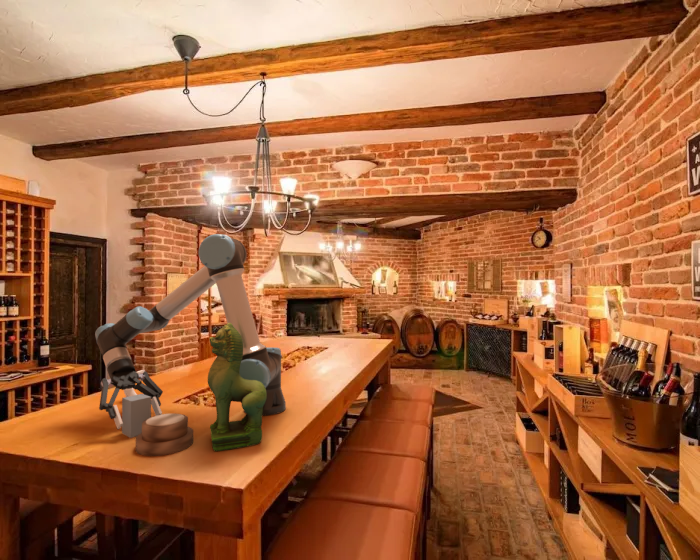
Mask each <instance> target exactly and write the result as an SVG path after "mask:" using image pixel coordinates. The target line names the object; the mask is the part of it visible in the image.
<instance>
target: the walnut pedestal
mask: <svg viewBox="0 0 700 560" xmlns="http://www.w3.org/2000/svg"><path fill="white" fill-rule="evenodd" d="M193 443H194V429H193V428H192V427H191V426H189V416H188V415H186V414H181V413H162V415H157V416H156V415H154V416H151V418H148V419H146V420H144V421H143V422H142V433H141V434H139V435H138V436H136V437H135V452H136V453H137V454H138V455H141V456H145V457H146V456H147V457H159V456H166V455H173V454H175V453H178V452H181V451H184V450H185V449H188V448H189V447H190V446H192V444H193Z"/></svg>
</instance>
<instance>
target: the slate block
mask: <svg viewBox="0 0 700 560" xmlns="http://www.w3.org/2000/svg"><path fill="white" fill-rule="evenodd" d="M151 400H152V399H151V397H150V396H147V395H144V394H143V393H140V394H137V395H134V396H129V397H126V396H125V397H122V398H121V401H122V402H121V405H122V408H121V419H122V422H123V424H122V426H121V434H122V435H124V436H125V437H128V438H129V439H133V438H136V437H137V436H138V435H139V434H141V433H142V422H143V421H144V420H146V419H148V418H151V417H152V405H151Z"/></svg>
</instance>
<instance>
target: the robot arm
mask: <svg viewBox="0 0 700 560" xmlns="http://www.w3.org/2000/svg"><path fill="white" fill-rule="evenodd" d="M198 257H199V261H200V262H201V264H203V267H201V268H200V269H198V271H196V272H195V273H194V274H193V275H192V276H190V277H188V278H187V279H186V280H185V281H184V282H182V283H181V284H180V285H178V286H177V288H175V289H174V290H172V292H170V293H169V294H167V296H165V297H163V298H162V299H161V300H160V301H158V303H156V304H155V305H154V306H153V307H152V308H150V309H148V308H146V307H143V306H140V305H138V306H136V307H134V308H133V309H130V311H128V312H127V313H126V314H125V315H124V316H123V317H121V318H120V319H119V320H118V321H117V322H116V323H110V322H109V323H105V324H104V325H101V326H99V327H97V329H96V330H95V334H94V335H95V340H96V344H97V347H98V348H99V351H100V353H101V356H102V359H103V363H104V365H105V368H106V370H107V374H108V376H109V378H108V379H107V378H106V377H103V378H102V380H101V382H100V383H99V385H100V388H101V391H100V399H99V407H98V410H99V411H103V410H105V412H107V413H108V416H109V418H110V419H111V420H114V423H115V426H116V429H117V430H120V429H122V424H123V422H122V415H121V413H120V410H119V408H118V405H117V404H115V402H116V399H117V397H118V394H119V392H120V390H121V391H124V390H125V389H130V388H133V389H134V391H135V390H137V391H138V392H140V394H144V395H147V396H150V397H151V408H152V410H153V413H154V416H157V415H162V414H163V411H162V409H161V406H162V403H161V400H160V398H161V396H162V394H163V392H164V391H163V390H162V389H161V388H160V387H159V386H158V385H157V383H155V381H154V380H153V379H152V378H151V377H150V375H149V373H148V372H147V371H145V372H143V373H140V374H138V373H136V372H137V371H136V368H135V364H134V362H133V360H132V357H131V355H130V352H129V350H128V347H127V343H130V341H132V340H133V339H134V338H135V337H136V336H138V335H139V334H143V333H148V332H149V333H150V332H153V331H154V332H155V331H160V330H162V329H164V328H166V327H167V326H168V325H169V321H171V320H172V319H174V317H175V316H178V314H179V313H180V312H181V311H183V310H184V309H185V308H187V307H188V306H189V305H190V304H192V303H193V302H194V301H196V300H197V299H198V298H199V297H200V296H202V295H204V293H205V292H207V291H208V290H210V289H211V288H212V287H213V286H215V285H216V287H217V289H218V290H217V291H218V294H219V297H220V302H221V305H222V308H223V313H224V317H225V320H226V324H228V323H231V324H232V325H233V326H234V328H235V329H236V330H237V331H238V332H239V333H240V335H241V337H242V340H243V357H242V361H241V364H240V371H239V373H240V376H241V377H242V378H243V379H246V380H257V381H260V382H261V383H262V384H263V385H264V386H265V388H266V392H267V397H266V401H265V404H264V406H263V412H262V417H263V416H264V417H265V416H271V415H272V416H273V415H277V414H280V413H282V412H284V411H285V410H286V399H285V397H284V393H283V390H282V351H281V349H280V347H270V346H269V347H268V346H266V345H264V344H262V343H261V341H260V337H259V334H258V331H257V325H256V322H255V320H254V316H253V312H252V309H251V305H250V301H249V298H248V294H247V290H246V287H245V284H244V280H243V276H242V275H243V273H244V272H245V267H244V264H245V262H246V260H247V257H248V255H247V249H246V247H245V245H244V244H243V243H242V242H241V241H240V240H238V239H236V238H234V237H230V236H229V235H227V234H223V233H222V234H221V233H214V234H210V235H208V236H207V237H205V238H204V239H203V240H202V241H201V243H200V244H199V247H198ZM110 385H113V386H114V387H115V388H114V391H113V392H112V394H111V397H110V400H109V402H107V399H108V391H109V386H110ZM243 412H244V413H245V414H246V412H245V411H244V410H243Z"/></svg>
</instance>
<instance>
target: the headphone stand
mask: <svg viewBox="0 0 700 560" xmlns="http://www.w3.org/2000/svg"><path fill="white" fill-rule="evenodd" d="M144 372H146V369H141V370H138V371H136V373H138V374H143V373H144ZM123 392H124V395H125V397H129V396H134V395H138V394H137V393H136V391H135V389H134V388H130V389H125V390H123Z"/></svg>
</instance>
